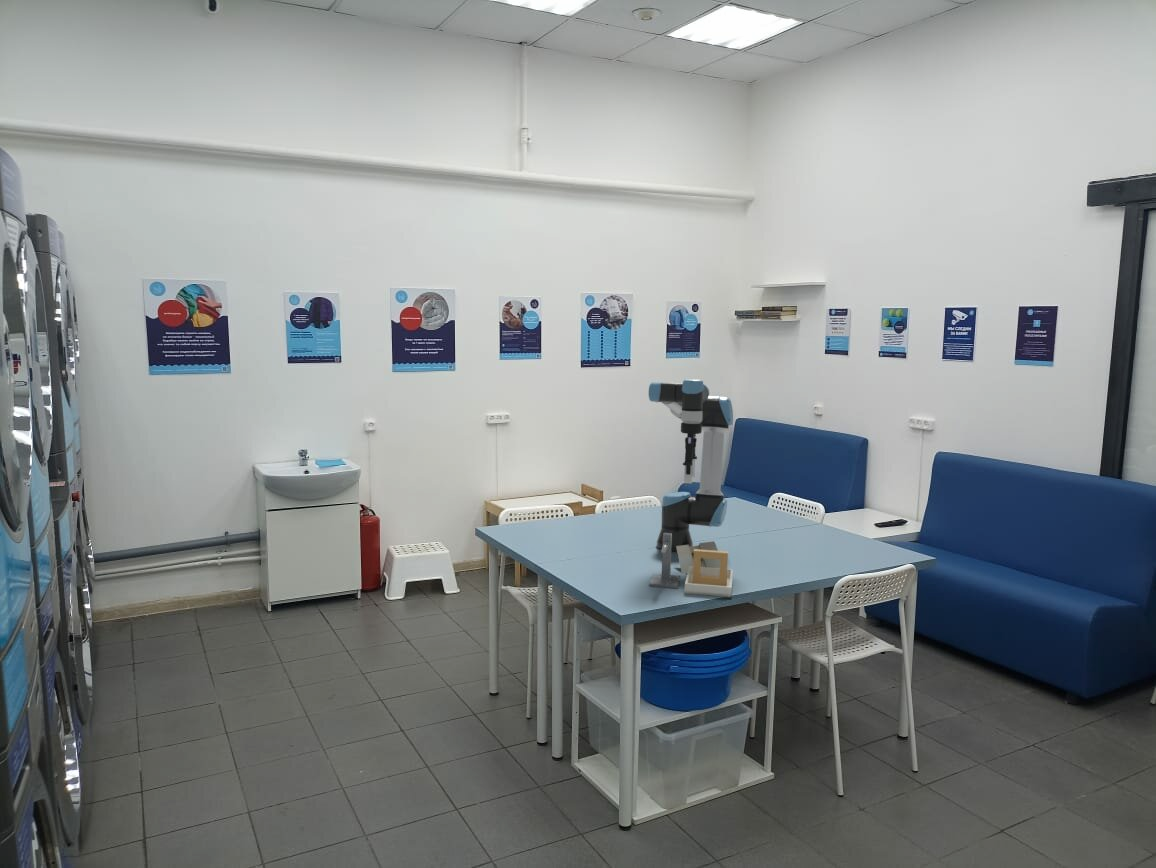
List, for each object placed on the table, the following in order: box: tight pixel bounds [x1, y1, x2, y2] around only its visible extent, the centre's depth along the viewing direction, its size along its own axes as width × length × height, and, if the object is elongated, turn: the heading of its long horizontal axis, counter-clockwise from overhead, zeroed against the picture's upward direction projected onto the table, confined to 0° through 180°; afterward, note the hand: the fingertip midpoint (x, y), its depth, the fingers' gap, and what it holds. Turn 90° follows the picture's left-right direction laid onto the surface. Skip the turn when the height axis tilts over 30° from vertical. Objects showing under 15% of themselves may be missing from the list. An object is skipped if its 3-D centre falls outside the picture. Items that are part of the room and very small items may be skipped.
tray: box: [684, 566, 734, 598], centre depth 291 cm, size 22×16×4 cm
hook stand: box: [648, 533, 681, 589], centre depth 292 cm, size 16×10×17 cm, turn 168°
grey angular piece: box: [676, 541, 720, 575], centre depth 314 cm, size 16×9×15 cm
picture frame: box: [693, 549, 729, 586], centre depth 291 cm, size 2×12×12 cm, turn 78°
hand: (689, 480), depth 297 cm, fingers open, 13 cm apart
